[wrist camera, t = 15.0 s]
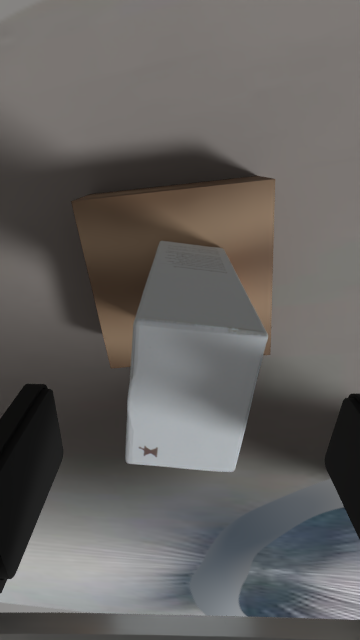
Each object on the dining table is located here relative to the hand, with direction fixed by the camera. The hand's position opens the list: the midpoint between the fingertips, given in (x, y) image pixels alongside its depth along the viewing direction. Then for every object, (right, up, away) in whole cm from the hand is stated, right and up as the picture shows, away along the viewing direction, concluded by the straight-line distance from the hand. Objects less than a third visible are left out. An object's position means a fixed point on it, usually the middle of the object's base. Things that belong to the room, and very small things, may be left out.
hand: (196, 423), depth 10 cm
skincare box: (0, +6, +11) cm, 12 cm away
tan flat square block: (0, +8, +15) cm, 17 cm away
